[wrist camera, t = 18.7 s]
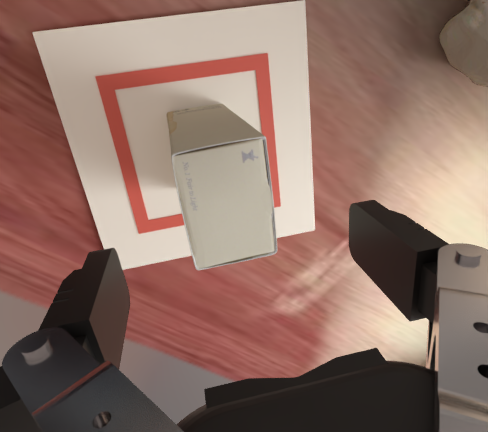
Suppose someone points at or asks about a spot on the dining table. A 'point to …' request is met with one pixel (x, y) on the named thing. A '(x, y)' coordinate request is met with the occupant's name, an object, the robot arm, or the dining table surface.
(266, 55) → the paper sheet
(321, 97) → the dining table surface
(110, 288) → the robot arm
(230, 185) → the skincare box
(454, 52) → the ceramic sculpture
